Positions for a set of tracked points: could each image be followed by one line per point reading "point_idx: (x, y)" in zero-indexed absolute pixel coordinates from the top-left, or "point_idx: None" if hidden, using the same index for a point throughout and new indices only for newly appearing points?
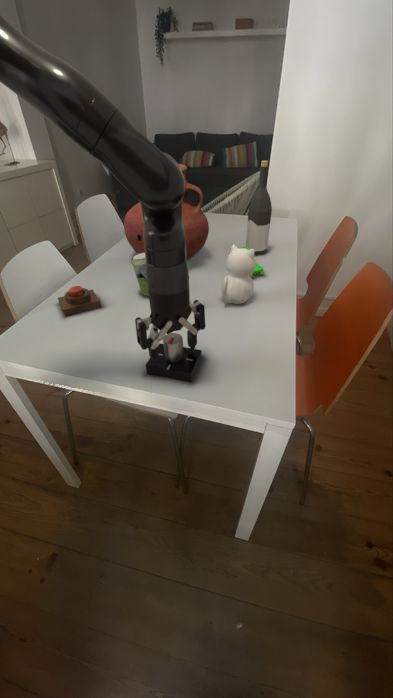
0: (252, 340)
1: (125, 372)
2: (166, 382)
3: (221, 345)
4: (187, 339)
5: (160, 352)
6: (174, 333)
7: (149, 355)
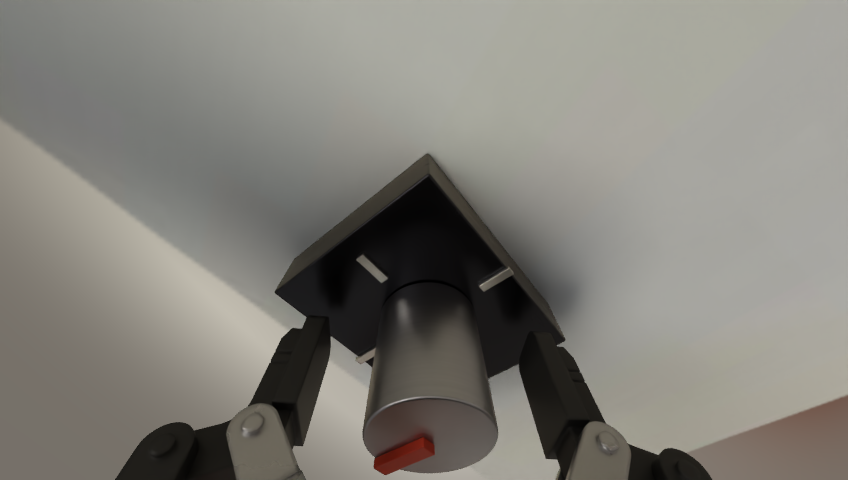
0: (796, 326)
1: (197, 192)
2: None
3: (685, 283)
4: (542, 358)
5: (387, 253)
6: (474, 414)
7: (280, 344)
